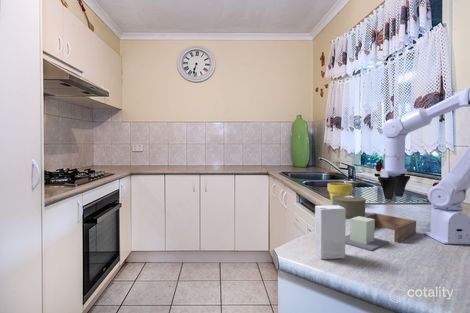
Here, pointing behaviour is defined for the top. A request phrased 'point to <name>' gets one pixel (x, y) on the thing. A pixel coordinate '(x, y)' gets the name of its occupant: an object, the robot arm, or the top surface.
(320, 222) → the skincare box
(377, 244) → the charcoal mat
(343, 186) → the plant pot
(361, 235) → the sage block
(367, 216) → the walnut u-shaped frame
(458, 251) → the top surface
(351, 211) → the can
